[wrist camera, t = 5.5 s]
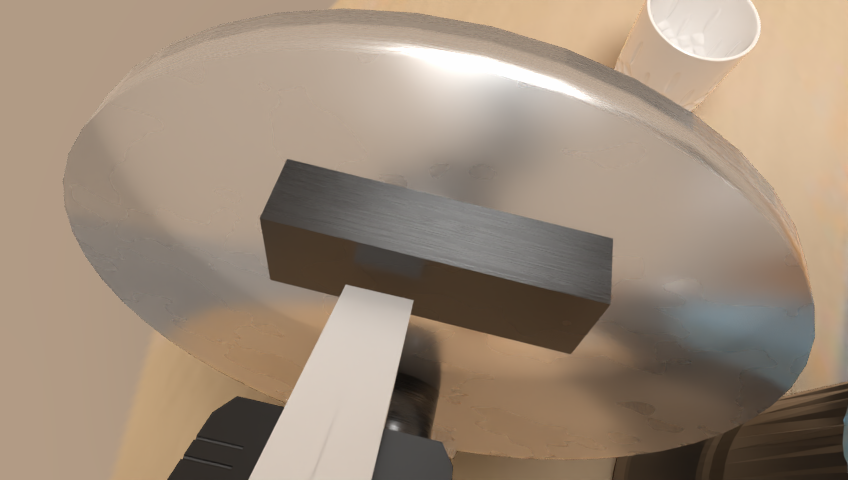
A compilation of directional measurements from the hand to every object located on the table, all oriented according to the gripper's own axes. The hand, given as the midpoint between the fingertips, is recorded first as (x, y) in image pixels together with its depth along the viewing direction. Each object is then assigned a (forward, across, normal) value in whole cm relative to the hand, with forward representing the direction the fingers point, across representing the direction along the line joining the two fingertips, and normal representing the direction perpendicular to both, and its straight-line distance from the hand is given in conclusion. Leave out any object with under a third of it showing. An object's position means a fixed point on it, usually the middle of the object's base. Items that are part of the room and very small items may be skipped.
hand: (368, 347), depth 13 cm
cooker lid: (+6, +1, -2) cm, 7 cm away
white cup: (+42, +16, +3) cm, 44 cm away
